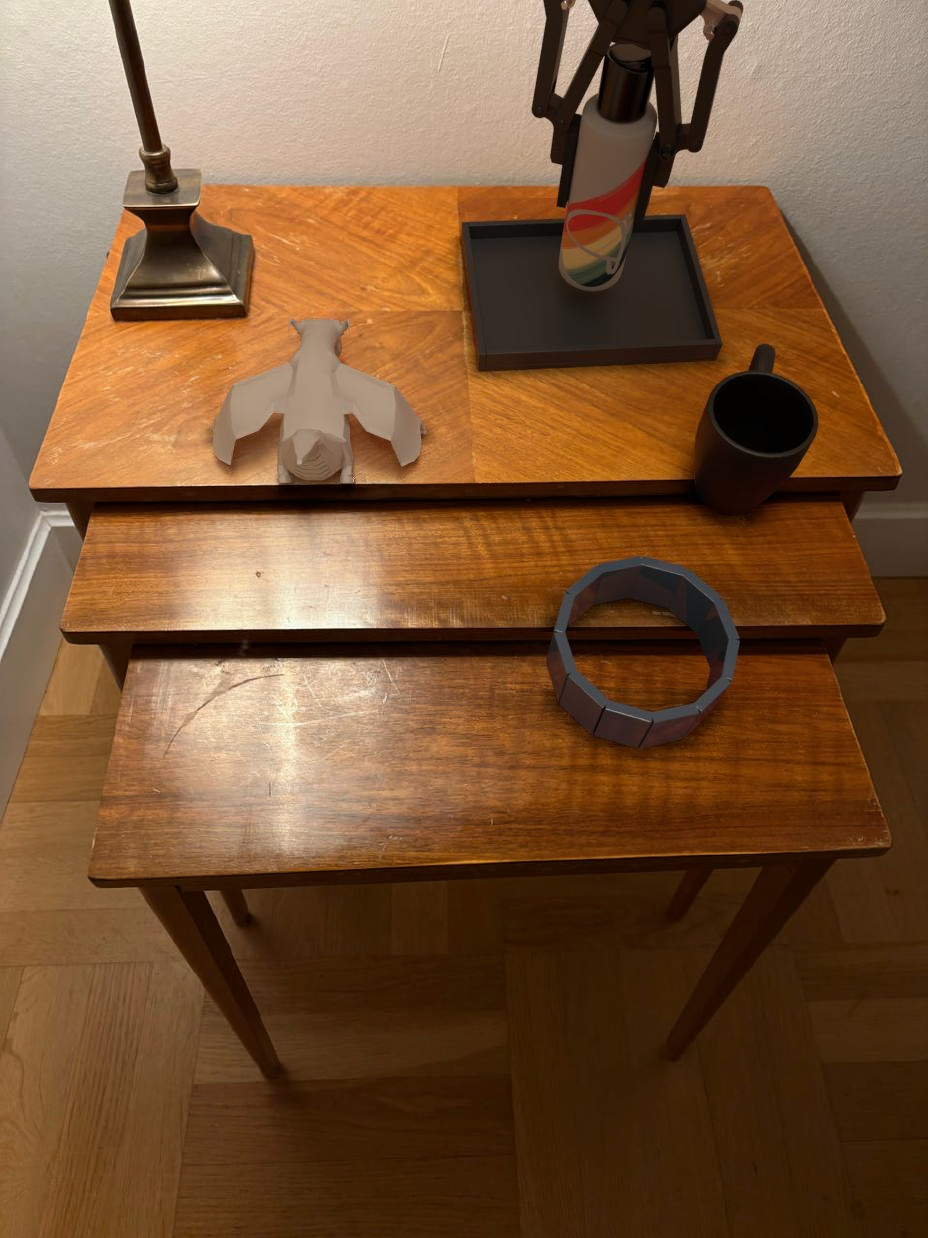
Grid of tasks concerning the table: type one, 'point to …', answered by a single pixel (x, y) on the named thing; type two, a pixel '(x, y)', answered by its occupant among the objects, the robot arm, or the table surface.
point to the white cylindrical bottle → (609, 170)
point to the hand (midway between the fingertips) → (602, 204)
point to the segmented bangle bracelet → (658, 588)
